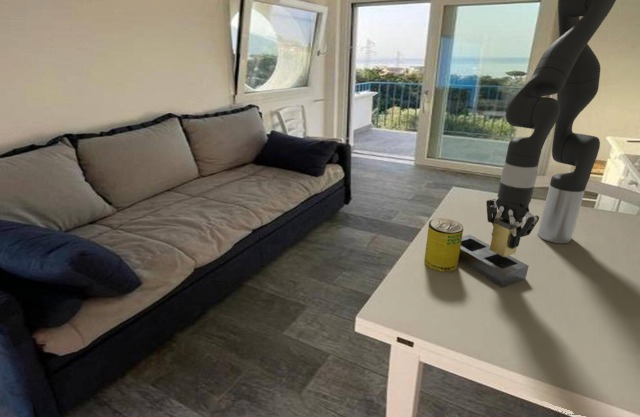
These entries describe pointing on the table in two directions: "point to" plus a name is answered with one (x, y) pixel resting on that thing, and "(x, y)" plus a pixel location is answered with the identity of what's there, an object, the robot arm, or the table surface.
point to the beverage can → (443, 244)
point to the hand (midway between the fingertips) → (504, 243)
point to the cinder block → (491, 262)
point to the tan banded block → (502, 237)
